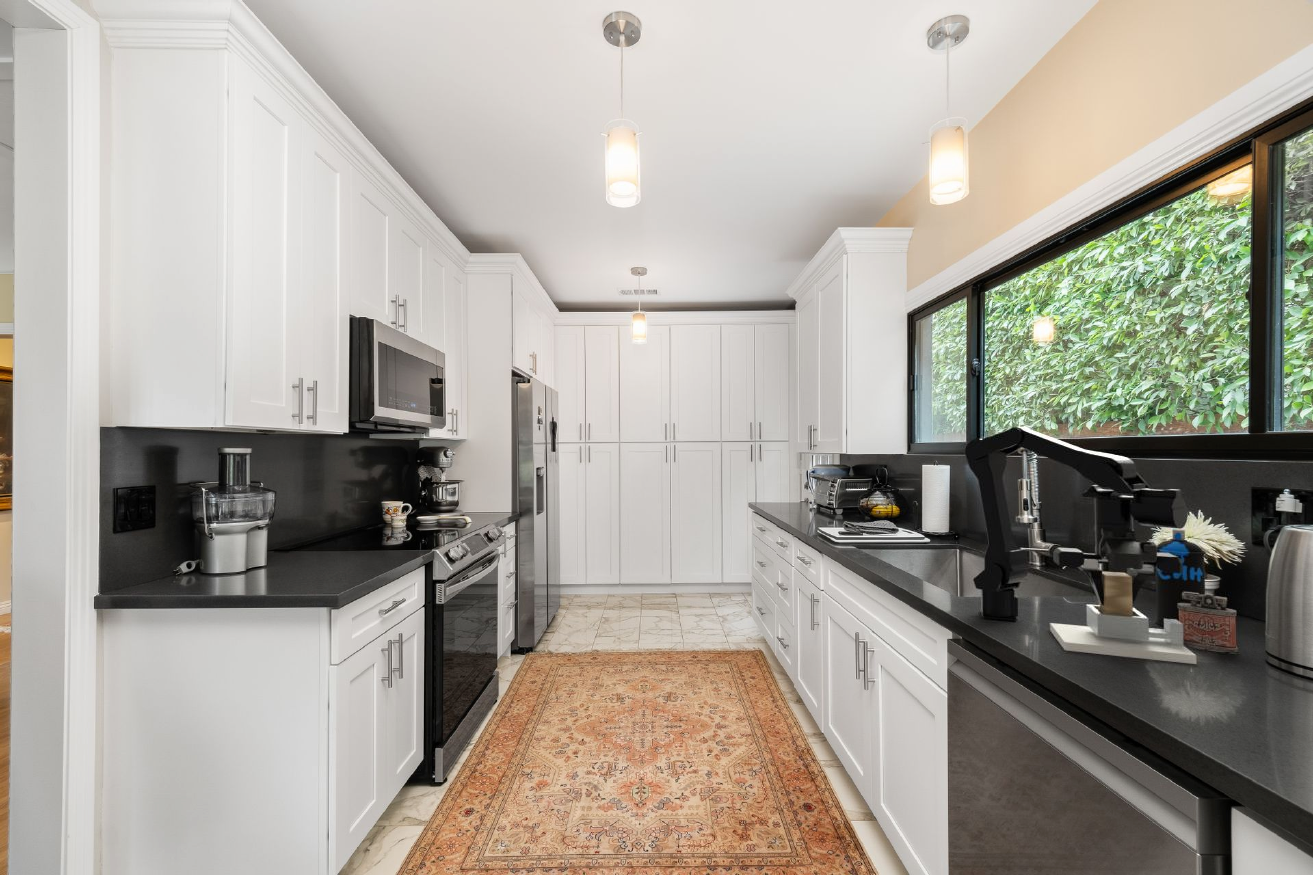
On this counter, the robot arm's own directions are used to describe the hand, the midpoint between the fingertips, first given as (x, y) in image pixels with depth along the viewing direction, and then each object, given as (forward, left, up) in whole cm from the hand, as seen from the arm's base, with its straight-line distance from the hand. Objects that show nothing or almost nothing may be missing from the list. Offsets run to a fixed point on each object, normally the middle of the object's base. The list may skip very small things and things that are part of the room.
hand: (1115, 605), depth 112 cm
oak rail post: (0, 0, -2) cm, 2 cm away
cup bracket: (+3, 0, -6) cm, 7 cm away
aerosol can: (+16, +20, -8) cm, 27 cm away
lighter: (+15, +5, -8) cm, 18 cm away
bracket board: (0, 0, -8) cm, 8 cm away
